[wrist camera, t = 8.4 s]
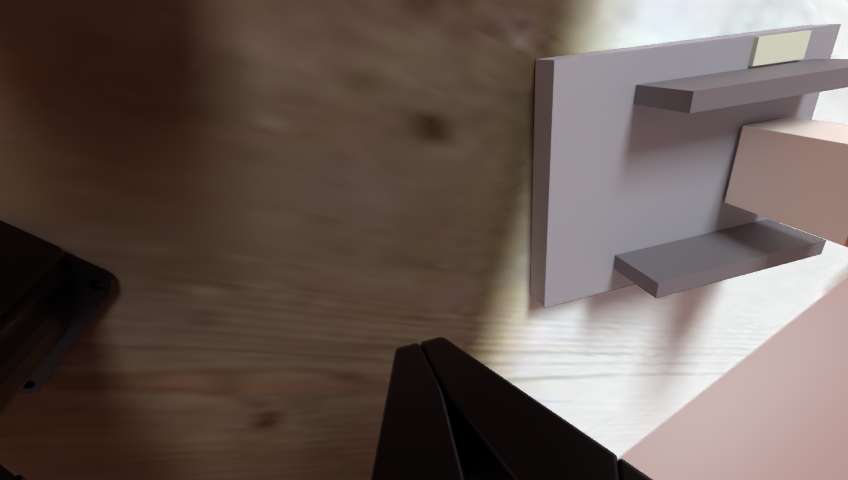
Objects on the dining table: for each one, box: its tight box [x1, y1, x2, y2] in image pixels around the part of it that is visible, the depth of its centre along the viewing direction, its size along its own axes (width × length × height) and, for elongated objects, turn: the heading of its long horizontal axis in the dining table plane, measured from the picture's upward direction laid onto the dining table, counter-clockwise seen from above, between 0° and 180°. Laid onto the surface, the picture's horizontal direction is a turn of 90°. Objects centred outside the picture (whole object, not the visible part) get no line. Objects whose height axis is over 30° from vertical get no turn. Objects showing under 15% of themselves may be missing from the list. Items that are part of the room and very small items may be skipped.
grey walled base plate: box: [530, 24, 848, 308], centre depth 20 cm, size 15×12×4 cm
